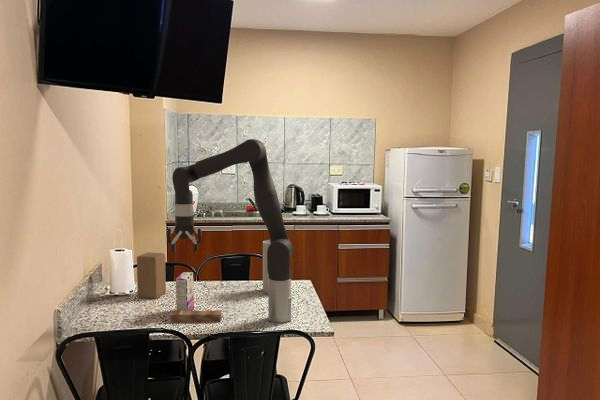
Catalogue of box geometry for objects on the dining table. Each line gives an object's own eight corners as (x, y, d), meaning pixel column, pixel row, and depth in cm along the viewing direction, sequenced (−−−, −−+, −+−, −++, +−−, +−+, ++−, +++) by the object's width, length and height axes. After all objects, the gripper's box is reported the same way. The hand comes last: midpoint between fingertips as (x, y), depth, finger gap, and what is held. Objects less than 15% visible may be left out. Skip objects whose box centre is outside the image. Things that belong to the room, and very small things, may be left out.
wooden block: (156, 299, 217) (155, 257, 216) (136, 297, 219) (135, 256, 218) (166, 293, 227) (166, 252, 225) (147, 292, 229) (147, 251, 227)
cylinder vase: (257, 291, 232) (257, 241, 230) (274, 286, 241) (275, 238, 239) (275, 296, 224) (276, 245, 221) (292, 291, 233) (293, 241, 231)
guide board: (221, 317, 194) (221, 310, 194) (220, 321, 189) (220, 314, 189) (172, 318, 193) (172, 310, 192) (170, 322, 188) (170, 314, 187)
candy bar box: (182, 308, 205) (182, 271, 203) (194, 308, 205) (193, 272, 203) (175, 317, 194) (175, 278, 192) (187, 317, 194) (187, 278, 192)
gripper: (165, 215, 192) (165, 254, 193) (200, 215, 193) (200, 254, 194) (169, 213, 199) (169, 250, 201) (202, 213, 200) (203, 250, 202)
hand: (184, 252), depth 197 cm, fingers open, 8 cm apart
